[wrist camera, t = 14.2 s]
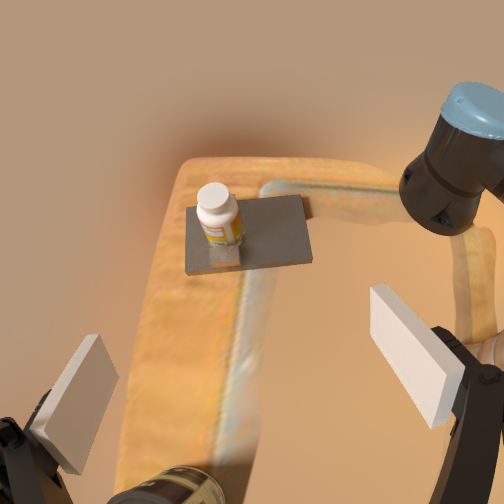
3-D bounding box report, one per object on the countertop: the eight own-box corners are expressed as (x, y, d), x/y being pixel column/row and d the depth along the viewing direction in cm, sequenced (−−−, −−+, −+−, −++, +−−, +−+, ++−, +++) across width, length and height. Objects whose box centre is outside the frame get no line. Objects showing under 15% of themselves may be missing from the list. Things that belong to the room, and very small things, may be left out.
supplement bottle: (233, 212, 48) (223, 171, 40) (249, 239, 46) (242, 200, 37) (201, 228, 48) (185, 189, 39) (216, 256, 45) (201, 220, 37)
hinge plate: (300, 199, 50) (301, 186, 47) (311, 262, 45) (314, 252, 42) (188, 212, 51) (183, 200, 48) (187, 275, 46) (181, 266, 43)
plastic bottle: (478, 379, 35) (572, 353, 17) (444, 399, 34) (539, 387, 17) (466, 341, 38) (555, 296, 20) (431, 359, 37) (521, 323, 19)
